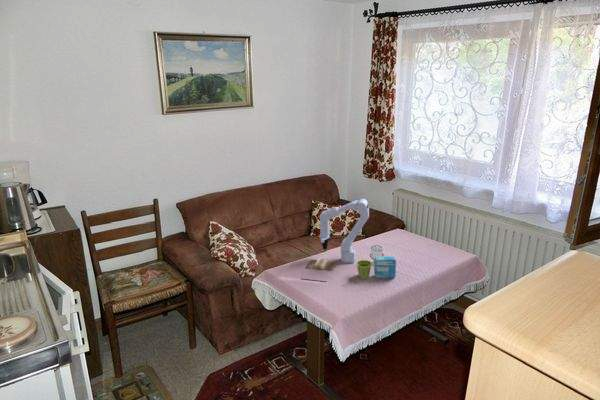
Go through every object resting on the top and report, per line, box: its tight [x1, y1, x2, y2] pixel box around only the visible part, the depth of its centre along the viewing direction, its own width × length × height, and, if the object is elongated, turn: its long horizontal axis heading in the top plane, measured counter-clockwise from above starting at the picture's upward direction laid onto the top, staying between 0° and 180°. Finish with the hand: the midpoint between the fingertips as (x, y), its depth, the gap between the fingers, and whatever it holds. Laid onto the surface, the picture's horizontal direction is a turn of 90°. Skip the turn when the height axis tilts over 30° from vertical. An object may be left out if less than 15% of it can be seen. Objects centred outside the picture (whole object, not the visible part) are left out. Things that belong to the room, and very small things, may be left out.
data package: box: [373, 256, 397, 279], centre depth 247 cm, size 12×4×12 cm, turn 89°
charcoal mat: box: [301, 278, 328, 283], centre depth 251 cm, size 16×12×1 cm
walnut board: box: [304, 259, 338, 272], centre depth 263 cm, size 18×13×2 cm
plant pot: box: [355, 259, 373, 279], centre depth 248 cm, size 9×9×9 cm
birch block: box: [315, 258, 329, 269], centre depth 262 cm, size 6×10×2 cm, turn 163°
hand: (325, 249), depth 270 cm, fingers closed
